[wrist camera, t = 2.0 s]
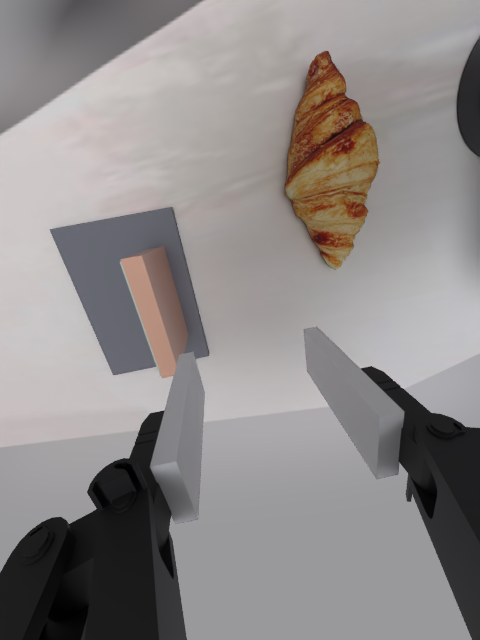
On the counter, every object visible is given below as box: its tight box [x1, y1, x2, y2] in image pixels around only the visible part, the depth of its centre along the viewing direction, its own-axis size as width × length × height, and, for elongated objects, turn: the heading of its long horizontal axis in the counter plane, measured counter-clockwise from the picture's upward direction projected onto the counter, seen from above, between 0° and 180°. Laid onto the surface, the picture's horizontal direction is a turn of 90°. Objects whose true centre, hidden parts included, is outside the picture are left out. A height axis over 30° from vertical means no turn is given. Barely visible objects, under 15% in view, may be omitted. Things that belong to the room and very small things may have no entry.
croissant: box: [285, 51, 380, 269], centre depth 27 cm, size 21×10×8 cm, turn 15°
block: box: [120, 246, 189, 378], centre depth 27 cm, size 2×12×10 cm, turn 10°
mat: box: [50, 207, 209, 375], centre depth 32 cm, size 14×20×1 cm
